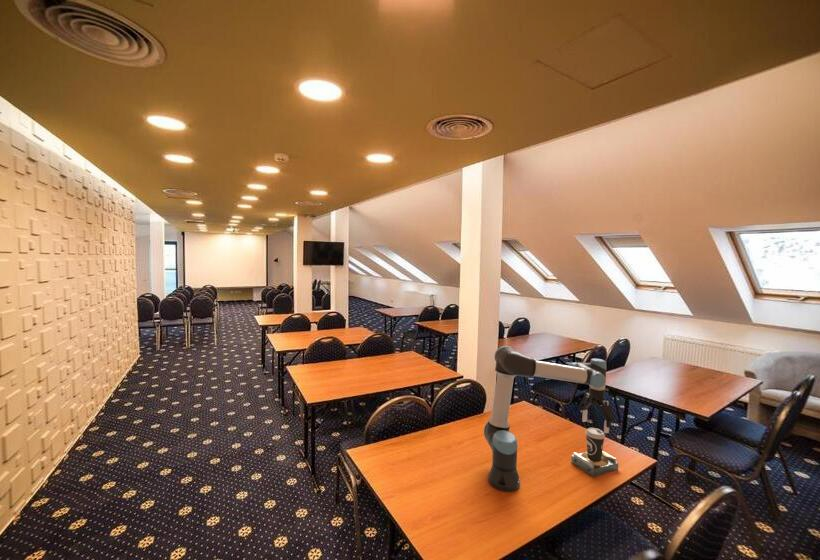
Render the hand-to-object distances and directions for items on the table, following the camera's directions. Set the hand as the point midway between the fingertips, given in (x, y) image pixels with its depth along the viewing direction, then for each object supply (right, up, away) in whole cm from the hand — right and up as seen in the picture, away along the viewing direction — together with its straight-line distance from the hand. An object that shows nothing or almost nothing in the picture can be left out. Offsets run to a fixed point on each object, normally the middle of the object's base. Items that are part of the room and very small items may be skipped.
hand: (595, 427), depth 185 cm
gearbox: (0, -22, +1) cm, 22 cm away
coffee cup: (0, -18, +1) cm, 18 cm away
